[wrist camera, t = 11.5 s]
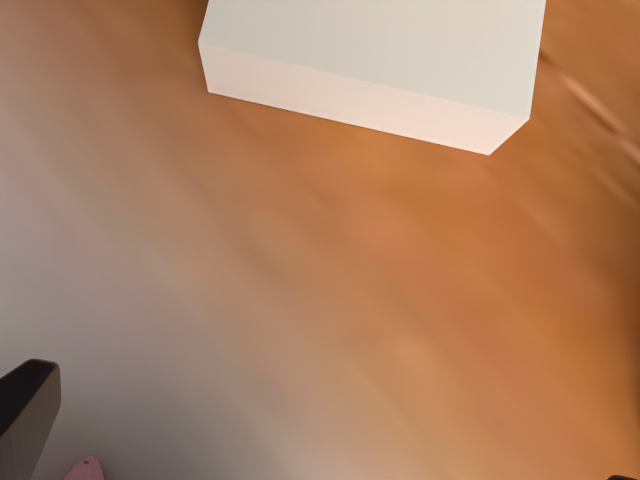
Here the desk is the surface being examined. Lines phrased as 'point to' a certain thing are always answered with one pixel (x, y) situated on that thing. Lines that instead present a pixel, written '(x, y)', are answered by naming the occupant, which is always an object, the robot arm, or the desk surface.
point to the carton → (382, 63)
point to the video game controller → (86, 470)
